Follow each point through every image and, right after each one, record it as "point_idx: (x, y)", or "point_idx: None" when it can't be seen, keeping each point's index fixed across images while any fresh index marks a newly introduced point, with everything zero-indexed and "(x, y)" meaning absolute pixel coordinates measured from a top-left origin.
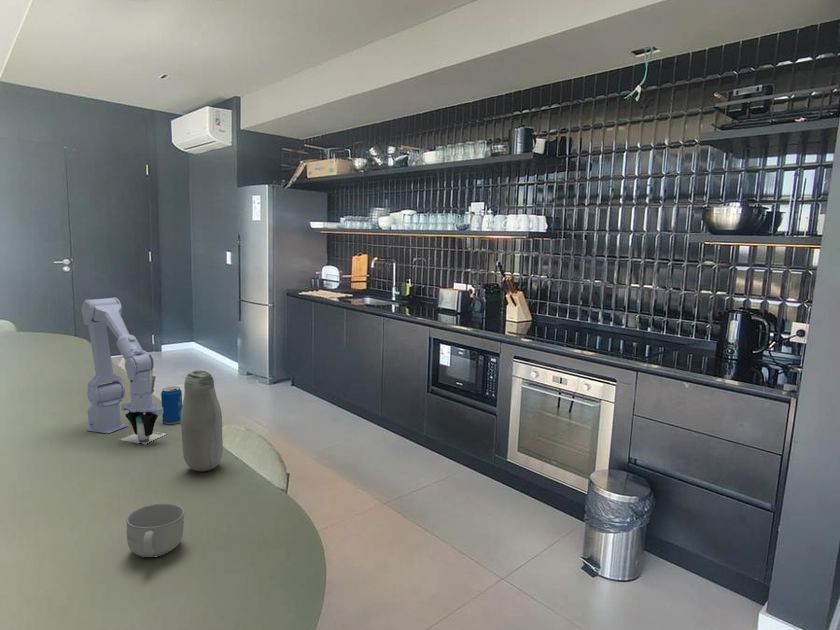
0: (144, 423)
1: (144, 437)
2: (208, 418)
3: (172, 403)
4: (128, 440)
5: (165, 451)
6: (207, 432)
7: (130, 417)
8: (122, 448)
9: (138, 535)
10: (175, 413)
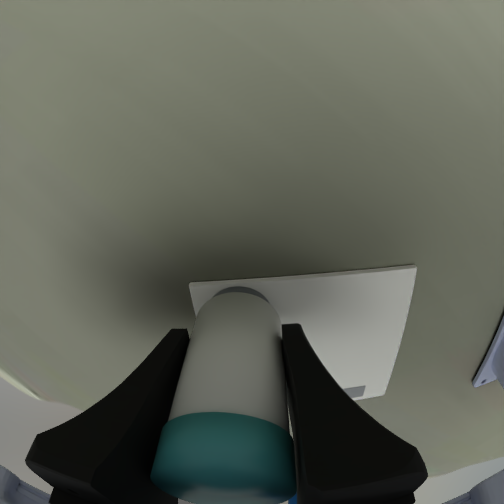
0: (122, 409)
1: (197, 317)
2: None
3: None
4: (354, 279)
5: (17, 249)
6: None
7: (323, 461)
8: (282, 160)
9: None
10: (294, 499)
